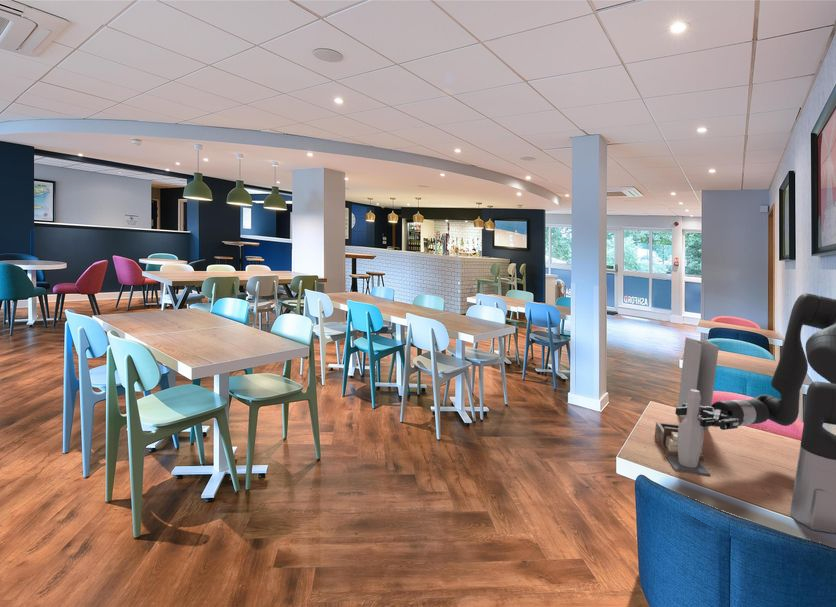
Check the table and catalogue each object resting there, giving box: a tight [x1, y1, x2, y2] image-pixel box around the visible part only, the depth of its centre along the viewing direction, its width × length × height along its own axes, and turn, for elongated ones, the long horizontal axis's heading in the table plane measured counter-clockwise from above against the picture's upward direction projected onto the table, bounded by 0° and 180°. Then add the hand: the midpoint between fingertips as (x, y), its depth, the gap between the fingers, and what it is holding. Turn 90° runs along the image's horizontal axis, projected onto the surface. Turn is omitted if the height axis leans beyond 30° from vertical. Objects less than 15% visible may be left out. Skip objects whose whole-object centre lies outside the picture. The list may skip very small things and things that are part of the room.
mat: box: [665, 454, 711, 477], centre depth 132 cm, size 9×9×1 cm
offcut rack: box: [654, 421, 706, 462], centre depth 143 cm, size 15×10×7 cm, turn 166°
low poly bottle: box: [677, 389, 705, 468], centre depth 131 cm, size 6×6×22 cm
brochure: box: [677, 336, 720, 431], centre depth 164 cm, size 14×6×30 cm, turn 168°
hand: (688, 417), depth 129 cm, fingers open, 8 cm apart
